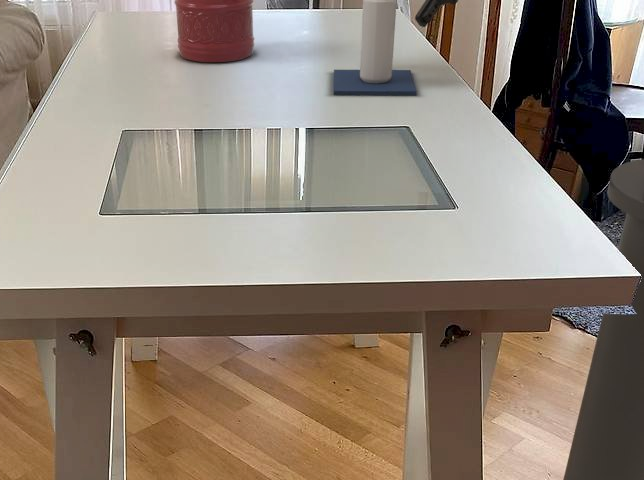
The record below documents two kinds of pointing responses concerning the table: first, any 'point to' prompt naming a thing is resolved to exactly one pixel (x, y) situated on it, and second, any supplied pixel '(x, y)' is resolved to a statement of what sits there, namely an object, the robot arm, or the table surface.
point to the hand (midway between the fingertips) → (398, 18)
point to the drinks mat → (373, 84)
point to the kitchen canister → (215, 29)
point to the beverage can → (377, 40)
